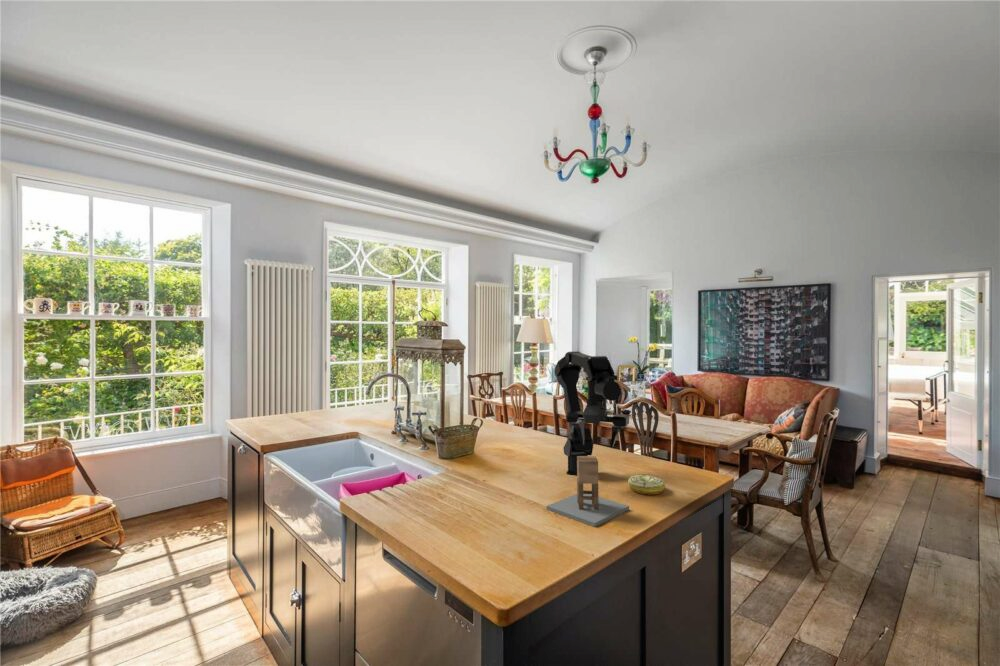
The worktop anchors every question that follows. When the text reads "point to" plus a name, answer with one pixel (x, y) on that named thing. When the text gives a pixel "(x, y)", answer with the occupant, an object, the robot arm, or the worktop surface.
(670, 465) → the worktop surface
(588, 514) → the mat
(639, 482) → the decorated donut
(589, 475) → the stool
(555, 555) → the worktop surface
